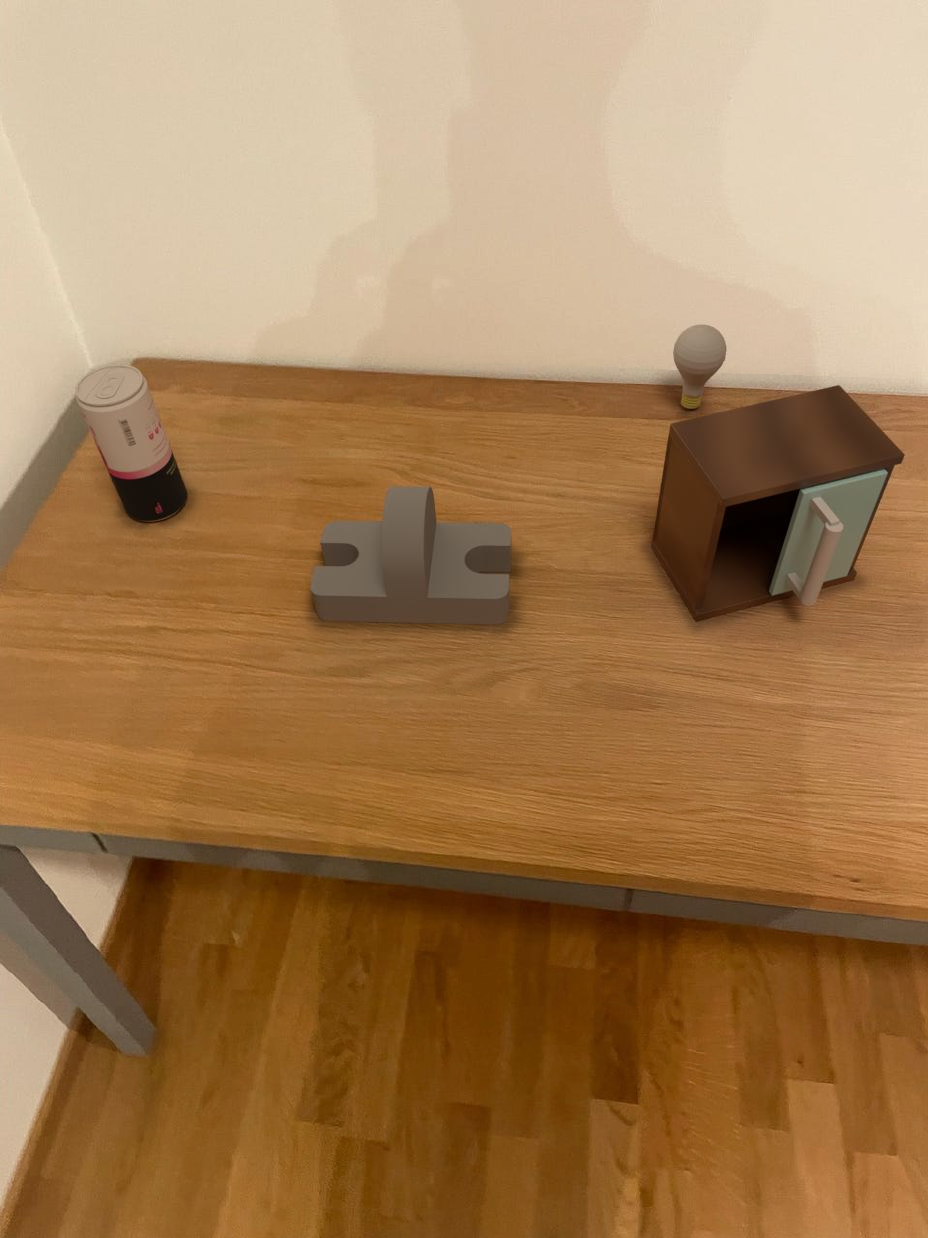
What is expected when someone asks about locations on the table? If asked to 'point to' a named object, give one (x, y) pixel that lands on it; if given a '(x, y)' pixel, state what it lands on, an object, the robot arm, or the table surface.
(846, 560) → the door
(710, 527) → the cabinet
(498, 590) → the bracket
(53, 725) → the table surface
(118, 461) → the beverage can
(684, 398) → the light bulb
